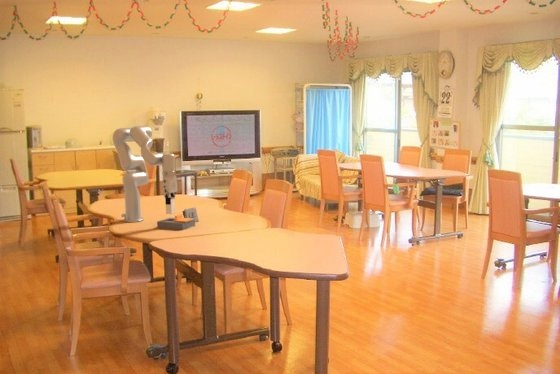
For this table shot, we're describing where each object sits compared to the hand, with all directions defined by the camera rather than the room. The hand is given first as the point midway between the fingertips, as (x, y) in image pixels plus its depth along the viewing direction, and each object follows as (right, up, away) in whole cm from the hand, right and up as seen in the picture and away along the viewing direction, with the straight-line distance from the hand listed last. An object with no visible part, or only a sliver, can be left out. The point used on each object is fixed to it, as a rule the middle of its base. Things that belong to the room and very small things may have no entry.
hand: (170, 203), depth 371 cm
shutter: (+8, -10, -2) cm, 14 cm away
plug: (0, -6, +1) cm, 6 cm away
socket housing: (+4, -14, 0) cm, 15 cm away
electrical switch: (+10, -13, +15) cm, 22 cm away
